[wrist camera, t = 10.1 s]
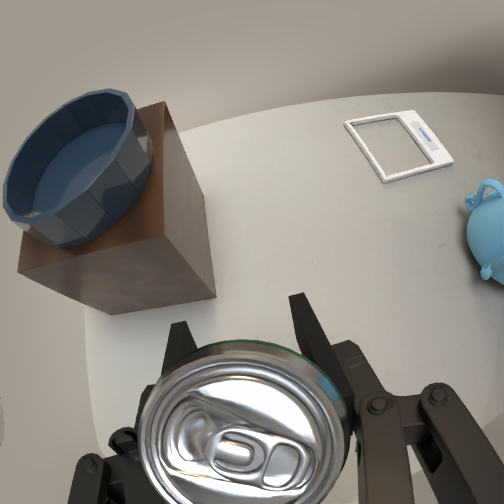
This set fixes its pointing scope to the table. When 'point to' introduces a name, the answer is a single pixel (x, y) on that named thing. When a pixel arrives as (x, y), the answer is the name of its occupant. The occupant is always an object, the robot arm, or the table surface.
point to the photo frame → (418, 133)
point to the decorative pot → (487, 229)
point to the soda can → (244, 427)
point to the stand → (138, 240)
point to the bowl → (79, 170)
